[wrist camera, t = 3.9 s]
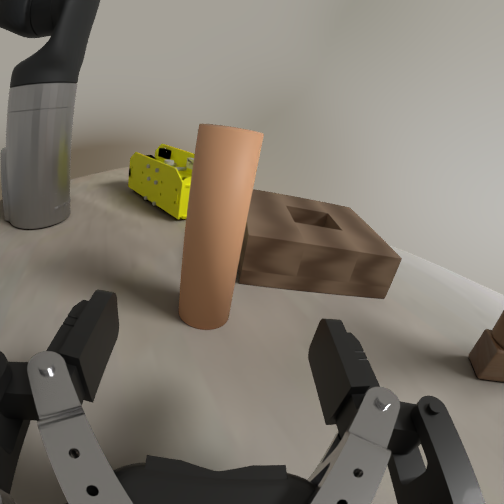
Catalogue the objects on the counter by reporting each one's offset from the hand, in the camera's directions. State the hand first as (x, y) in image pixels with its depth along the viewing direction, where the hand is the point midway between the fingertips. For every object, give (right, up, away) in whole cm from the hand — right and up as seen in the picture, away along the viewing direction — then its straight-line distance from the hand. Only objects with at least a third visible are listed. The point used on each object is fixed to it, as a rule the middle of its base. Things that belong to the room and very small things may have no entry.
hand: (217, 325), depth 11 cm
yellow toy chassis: (-12, +10, +33) cm, 37 cm away
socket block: (+7, +2, +25) cm, 27 cm away
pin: (-2, -2, +12) cm, 13 cm away
